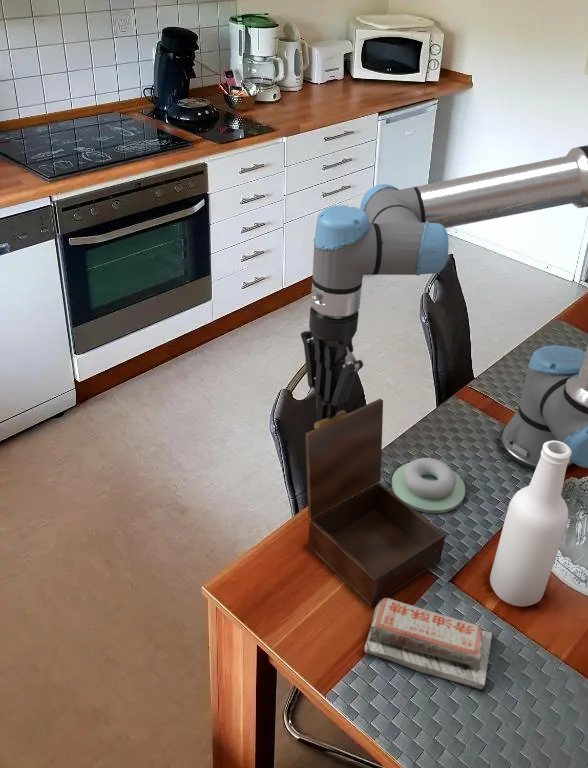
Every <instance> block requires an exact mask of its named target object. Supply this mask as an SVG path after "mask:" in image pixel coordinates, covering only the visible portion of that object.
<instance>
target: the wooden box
mask: <svg viewBox="0 0 588 768" xmlns="http://www.w3.org/2000/svg"><path fill="white" fill-rule="evenodd" d="M308 525H309V526H308V538H307V539H308V540H307V547H308V549H309V550H310V551H311V552H312V553H314V554H315V555H316V556H317V558H319V560H321V561H322V562H323V563H324V564H325V565H326V566H327V568H329V569H330V570H331V571H332V572H333V573H334V574H335V575H337V577H338V578H339V579H340V580H342V581H343V582H344V583H345V584H346V585H347V586H348V587H349V588H350V589H351V590H352V591H353V592H354V593H355V595H357V596H358V597H359V598H360V599H361V600H362V601H363V602H364V603H365V604H367V606H369V607H370V608H371V609H372V608H374V607H376V606H377V605H378V604H379V601H380V600H381V601H382V600H383V599H384V598H389V597H390V596H391V595H393V594H394V593H396V592H397V591H399V590H400V589H402V588H404V587H406V585H409V584H410V583H411V582H413V581H414V580H416V579H417V578H418V577H420V576H422V575H423V574H425V573H426V572H427V571H429V570H431V569H432V568H434V567H435V566H437V565H439V563H441V561H442V556H443V552H444V551H443V550H444V545H445V541H446V536H447V535H446V533H444V532H443V531H441V530H440V529H439V528H438V527H436V526H435V525H434V524H433V523H431V522H430V521H429V520H427V519H426V518H425V517H424V516H423V515H421V514H420V513H418V511H417V510H415V509H412V508H411V507H410V506H409V505H407V504H406V503H405V502H404V501H402V500H401V499H400V498H399V497H397V496H396V495H395V494H394V492H393V491H391V490H390V489H388V488H387V487H386V486H385V485H383V484H382V483H381V481H380V482H378V483H376V484H374V485H372V486H370V487H369V488H367V489H365V490H363V491H361V492H360V493H358V494H356V495H354V496H352V497H350V498H349V499H347V500H345V501H343V502H341V503H339V504H338V505H336V506H334V507H332V508H330V509H329V510H327V511H325V512H323V513H321V514H319V515H318V516H316V517H314V518H312V519H309V523H308Z"/></svg>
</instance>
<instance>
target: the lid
mask: <svg viewBox="0 0 588 768" xmlns="http://www.w3.org/2000/svg"><path fill="white" fill-rule="evenodd" d="M383 415H384V399H381V398H378V399H376V400H373V401H372V402H369V403H367V404H365V405H363V406H360V407H358V408H357V409H355V410H352V411H350V412H348V413H347V411H346V410H343V409H341V410H339V411H336V415H335V416H334V417H332V418H330V419H328V418H325V419H322V420H320V421H318V422H316V421H315V422H314V424H313V428H314V429H312V430H310V431H308V432H306V433H305V455H306V489H307V517H308V518H309V520H311V519H313V518H314V517H316V516H318V515H320V514H322V513H323V512H325V511H327V510H329V509H331V508H333V507H334V506H336V505H338V504H340V503H342V502H343V501H345V500H347V499H349V498H351V497H353V496H354V495H356V494H358V493H360V492H362V491H364V490H365V489H367V488H369V487H371V486H373V485H374V484H376V483H378V482H380V483H381V480H382V453H383V450H382V449H383V423H384V422H383V421H384V420H383V419H384V416H383Z"/></svg>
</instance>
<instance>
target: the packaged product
mask: <svg viewBox="0 0 588 768" xmlns="http://www.w3.org/2000/svg"><path fill="white" fill-rule="evenodd" d="M492 636H493V632H491V631H486V630H483V627H482V626H481V625H478V624H475V623H472V622H470V621H469V622H468V621H466V620H462V619H459V618H456V617H452V616H449V615H445V614H442V613H439V612H435V611H432V610H430V609H426V608H421V607H419V606H414V605H412V604H409V603H405V602H402V601H399V600H395V599H392V598H390V597H387V598H384V599H383V600H382V601H381V600H380V601H379V603H378V604H376V606H375V608H374V612H373V615H372V622H371V625H370V628H369V632H368V635H367V639H366V641H365V645H364V647H363V648H364V649H363V650H364V653H365V654H369V655H371V656H375V657H378V658H382V659H384V660H387V661H390V662H393V663H395V664H397V665H400V666H404V667H407V668H409V669H412V670H413V671H417V672H420V673H422V674H426V675H431V676H433V677H434V676H435V677H438V678H441V679H445V680H448V681H451V682H455V683H459V684H462V685H466V686H469V687H472V688H474V689H479V690H483V689H484V687H485V686H486V680H487V672H488V665H489V661H490V653H491V645H492Z"/></svg>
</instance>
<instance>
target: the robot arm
mask: <svg viewBox="0 0 588 768" xmlns="http://www.w3.org/2000/svg"><path fill="white" fill-rule="evenodd" d="M570 204H572V206H574V207H575V208H577V209H583V208H588V144H586V145H582V146H577V147H573V148H571V149H570V150H569V151H568V152H567V154H566V155H565V156H559V157H555V158H550V159H545V160H540V161H535V162H531V163H525V164H521V165H516V166H511V167H506V168H501V169H495V170H490V171H486V172H482V173H476V174H472V175H467V176H461V177H455V178H452V179H447V180H441V181H436V182H433V183H428V184H423V185H418V186H413V187H406V188H402V189H400V188H397V187H396V186H394V185H391V184H388V183H381V184H380V183H379V184H376V185H374V186H372V187H370V189H368V190H367V191H366V192H365V193H364V195H363V197H362V200H361V202H360V207H355V206H348V205H344V204H343V205H342V204H341V205H340V204H339V205H332V206H328V207H325V208H324V209H323V210H321V211H320V212H319V214H318V215H317V218H316V227H315V233H314V238H313V257H312V259H313V260H312V279H311V296H310V308H309V320H308V321H309V322H308V330H304V331H301V333H300V338H301V341H302V344H303V349H304V358H305V367H306V378H307V385H308V387H309V388H310V389H313V390H314V395H315V409H316V417H315V423H316V422H318V421H320V420H322V419H325V418H328V419H330V418H332V417H334V416H335V415H336V413H337V412H338V410H337V408H338V406H339V405H341V404H343V403H345V402H347V401H348V399H349V397H350V394H351V391H352V389H353V386H354V382H355V380H356V377H357V374H358V372H359V371H360V370H361V369H362V368H363V367H364V362H363V360H361V359H358V360H357V359H356V357H355V355H354V345H353V338H354V337H355V335H356V333H357V331H358V324H359V315H360V314H359V313H360V311H359V310H360V307H361V299H362V298H361V296H362V287H363V278H364V276H377V275H379V276H421V275H433V274H438V273H441V271H443V270H444V269H445V266H446V264H447V261H448V258H449V247H450V246H449V235H448V232H447V229H449V228H453V227H459V226H465V225H469V224H475V223H481V222H485V221H489V220H494V219H499V218H504V217H505V218H506V217H510V216H514V215H520V214H525V213H530V212H536V211H541V210H546V209H551V208H555V207H561V206H565V205H570ZM548 441H560V442H563V443H564V444H566V445H567V446H568V447H569V448H570V449H571V451H572V453H571V456H570V460H569V462H568V464H567V468H566V470H567V469H569V468H571V467H572V466H573V465H574V464H575V465H577V466H578V467H581V468H585V469H588V345H587V346H586V349H585V350H582V349H579V348H575V347H572V346H569V345H568V346H567V345H546V346H541V347H540V348H538V349H536V350H535V351H534V352H533V353H532V355H531V357H530V360H529V363H528V365H527V371H526V375H525V380H524V384H523V388H522V392H521V396H520V400H519V404H518V409H517V410H516V412H515V413H514V415H513V416H512V417H511V418H510V420H509V421H508V423H507V424H506V425H505V427H504V429H503V431H502V434H501V438H500V444H501V447H502V449H503V451H504V453H505V454H506V455H507V456H508V457H509V458H510V459H511V460H512V461H514V462H515V463H518V464H519V465H520V466H523V467H525V468H527V469H531V470H534V471H535V470H536V467H537V465H538V462H539V460H540V457H541V451H542V449H543V444H544V443H545V442H548Z"/></svg>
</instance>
